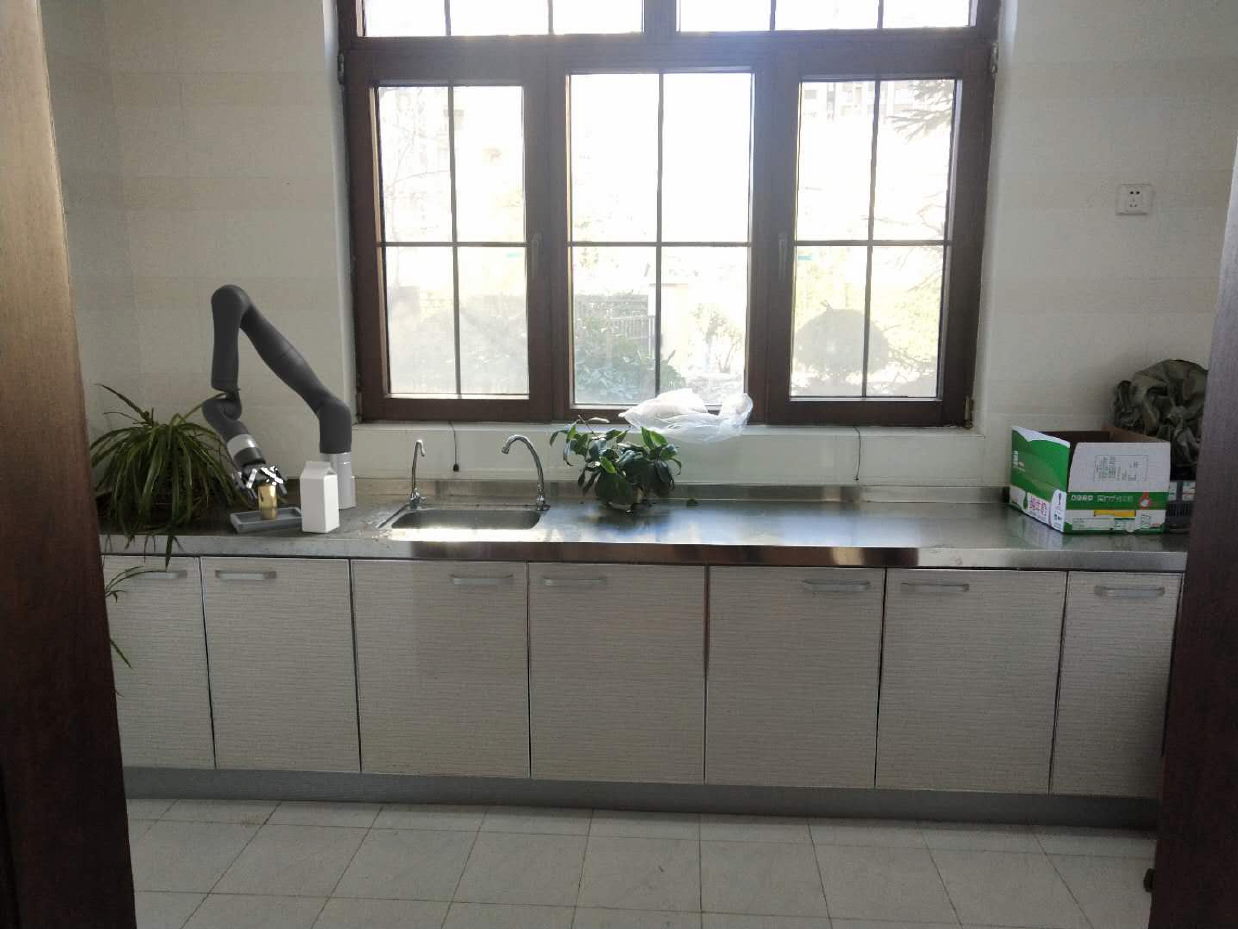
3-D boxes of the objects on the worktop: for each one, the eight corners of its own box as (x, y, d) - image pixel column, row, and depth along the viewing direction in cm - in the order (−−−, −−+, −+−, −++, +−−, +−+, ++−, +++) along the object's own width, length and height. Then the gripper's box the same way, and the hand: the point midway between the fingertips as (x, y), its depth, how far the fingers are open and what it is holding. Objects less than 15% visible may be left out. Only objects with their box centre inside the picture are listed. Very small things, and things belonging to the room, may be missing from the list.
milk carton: (325, 533, 229) (322, 464, 226) (302, 531, 231) (298, 463, 227) (339, 527, 236) (336, 460, 233) (316, 525, 238) (313, 459, 234)
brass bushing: (271, 517, 241) (269, 483, 240) (280, 520, 239) (278, 485, 237) (256, 520, 238) (254, 485, 236) (265, 523, 235) (263, 488, 233)
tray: (297, 515, 249) (296, 506, 249) (308, 525, 237) (308, 516, 237) (230, 522, 239) (230, 513, 239) (239, 533, 228) (238, 524, 227)
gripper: (225, 448, 234) (250, 495, 229) (273, 442, 245) (298, 487, 240) (217, 465, 238) (241, 511, 233) (264, 458, 249) (288, 502, 244)
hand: (270, 499), depth 236 cm, fingers open, 8 cm apart
